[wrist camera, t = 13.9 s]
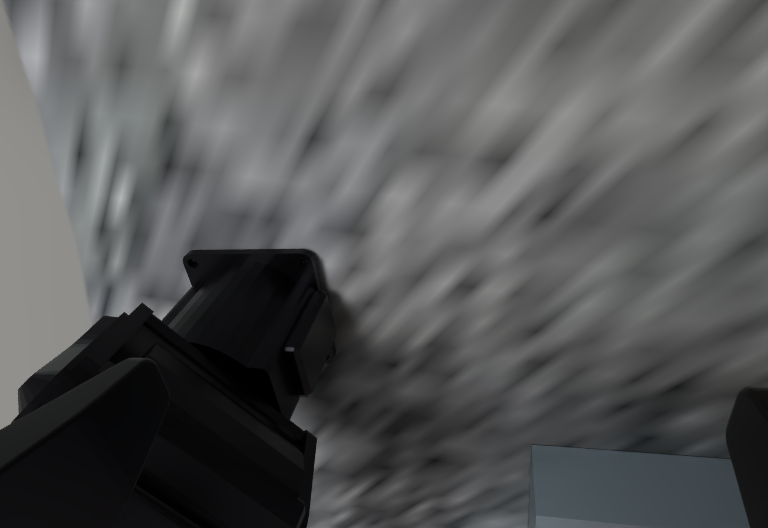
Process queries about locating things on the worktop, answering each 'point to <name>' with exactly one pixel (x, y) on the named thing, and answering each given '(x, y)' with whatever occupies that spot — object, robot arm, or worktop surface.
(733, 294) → the worktop surface
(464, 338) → the worktop surface
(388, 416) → the worktop surface
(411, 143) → the worktop surface
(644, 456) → the bin
